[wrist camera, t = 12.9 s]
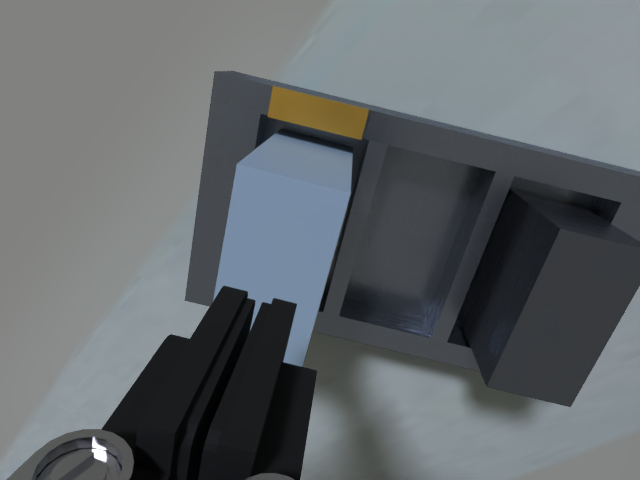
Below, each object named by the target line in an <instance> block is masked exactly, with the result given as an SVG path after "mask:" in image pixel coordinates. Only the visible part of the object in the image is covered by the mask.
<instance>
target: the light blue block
mask: <svg viewBox="0 0 640 480" xmlns="http://www.w3.org/2000/svg"><path fill="white" fill-rule="evenodd" d="M352 157H353V148H351V147H347V146H343V145H339V144H335V143H331V142H328V141H324V140H320V139H316V138H312V137H308V136H304V135H301V134H297V133H293V132H289V131H285V130H281V129H280V130H279V131H277V132H276V133H275V134H274V135H272V136H271V137H270V138H269V139H267V140H266V141H265V142H264V143H262V144H261V145H260V146H259V147H257V148H256V149H255V150H254V151H252V152H251V153H250V154H249V155H247V156H246V157H245V158H244V159H242V160H241V161H240V162H239V163H237V166H236V172H235V178H234V183H233V189H232V195H231V201H230V206H229V212H228V218H227V224H226V230H225V235H224V241H223V247H222V253H221V258H220V264H219V270H218V276H217V281H216V287H215V293H214V299H215V298H216V296H217V295H218V293H219V291H220V290H221V288H222V287H223V286H228V287H232V288H236V289H240V290H244V291H248V298H249V299H253V300H255V308H254V313H253V318H252V323H251V328H252V325H253V323H254V321H255V318H256V316H257V314H258V311H259V309H260V306H261V304H262V302H265V303H269V304H271V303H272V300H273V298H276V299H280V300H284V301H288V302H292V303H296V304H297V307H296V311H295V315H294V319H293V324H292V328H291V332H290V336H289V340H288V344H287V348H286V353H285V357H284V361H283V362H284V363H288V364H292V365H296V366H300V367H302V366H303V363H304V360H305V357H306V353H307V350H308V346H309V342H310V339H311V335H312V332H313V328H314V325H315V321H316V318H317V314H318V310H319V307H320V303H321V300H322V296H323V293H324V289H325V285H326V282H327V278H328V275H329V271H330V268H331V264H332V260H333V257H334V253H335V250H336V246H337V243H338V239H339V236H340V232H341V228H342V225H343V221H344V218H345V214H346V211H347V206H348V201H349V198H350V194H351V177H352ZM214 299H213V301H214ZM251 328H250V330H251Z"/></svg>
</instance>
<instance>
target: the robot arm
mask: <svg viewBox="0 0 640 480" xmlns="http://www.w3.org/2000/svg"><path fill="white" fill-rule="evenodd" d="M296 307H297V304H296V303H292V302H288V301H284V300H280V299H276V298H273V300H272V303H271V304H269V303H265V302H262V304H261V306H260V309H259V311H258V314H257V316H256V318H255V321H254V323H253V325H252V328H251V323H252V318H253V313H254V308H255V300H253V299H249V298H248V291H244V290H240V289H236V288H232V287H228V286H223V287H222V288H221V290H220V291H219V293H218V295H217V296H216V298H215V299H214V301H213V303H212V304H211V306H210V307H209V309H208V311H207V312H206V314H205V316H204V317H203V319H202V320H201V322H200V324H199V325H198V327H197V328H196V330H195V332H194V333H193V335H192V337H191V338H190V339H188V338H184V337H180V336H176V335H172V334H171V335H169V336H168V337H167V338H166V339H165V340H164V342H163V343H162V344H161V346H160V347H159V349H158V350H157V352H156V353H155V354H154V356H153V357H152V359H151V360H150V361H149V363H148V364H147V366H146V367H145V369H144V370H143V371H142V373H141V374H140V376H139V377H138V378H137V380H136V381H135V383H134V384H133V386H132V387H131V388H130V390H129V391H128V393H127V394H126V395H125V397H124V398H123V400H122V401H121V403H120V404H119V405H118V407H117V408H116V410H115V411H114V412H113V414H112V415H111V417H110V418H109V420H108V421H107V422H106V424H105V425H104V427H103V428H102V429H101V430H100V429H83V430H79V431H74V432H70V433H66V434H64V435H62V436H60V437H58V438H55V439H53V440H51V441H49V442H48V443H47V444H45V445H44V446H43V447H41V448H40V449H39V450H37V451H36V452H35V453H34V454H33V455H32V456H31V457H30V458H29V459H28V460H27V461H26V462H24V463H23V464H22V465H21V466H20V467H19V468H18V469H17V470H16V471H15V472H14V473H13V474H12V475H11V476H10V477H9V478H8V479H7V480H300V477H301V470H302V464H303V458H304V451H305V445H306V438H307V432H308V426H309V419H310V413H311V406H312V400H313V394H314V387H315V381H316V374H317V371H316V370H312V369H308V368H304V367H300V366H296V365H292V364H288V363H284V362H283V361H284V357H285V353H286V348H287V344H288V340H289V336H290V332H291V328H292V324H293V319H294V315H295V311H296ZM250 328H251V330H250Z"/></svg>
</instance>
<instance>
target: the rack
mask: <svg viewBox="0 0 640 480" xmlns="http://www.w3.org/2000/svg"><path fill="white" fill-rule="evenodd" d="M280 129H281V130H285V131H289V132H293V133H297V134H301V135H304V136H308V137H312V138H316V139H320V140H324V141H328V142H331V143H335V144H339V145H343V146H347V147H351V148H353V157H352V177H351V194H350V198H349V201H348V206H347V211H346V214H345V218H344V221H343V225H342V228H341V232H340V236H339V239H338V243H337V246H336V250H335V253H334V257H333V260H332V264H331V268H330V271H329V275H328V278H327V282H326V285H325V289H324V293H323V296H322V300H321V303H320V307H319V310H318V314H317V318H316V321H315V325H314V328H313V331H314V332H318V333H322V334H326V335H330V336H335V337H339V338H343V339H347V340H351V341H355V342H359V343H364V344H368V345H372V346H376V347H380V348H384V349H388V350H393V351H397V352H401V353H405V354H409V355H413V356H417V357H422V358H426V359H430V360H434V361H438V362H442V363H446V364H451V365H455V366H459V367H463V368H467V369H471V370H475V371H480V372H481V374H482V376H483V379H484V381H485V384H486V386H487V387H489V388H493V389H498V390H502V391H506V392H510V393H514V394H518V395H523V396H527V397H531V398H535V399H539V400H543V401H547V402H552V403H556V404H560V405H564V406H568V407H571V405H572V403H573V402H574V400H575V398H576V396H577V395H578V393H579V391H580V389H581V388H582V386H583V384H584V382H585V381H586V379H587V377H588V375H589V374H590V372H591V370H592V368H593V367H594V365H595V363H596V361H597V360H598V358H599V356H600V354H601V353H602V351H603V349H604V347H605V345H606V344H607V342H608V340H609V338H610V337H611V335H612V333H613V331H614V330H615V328H616V326H617V324H618V323H619V321H620V319H621V317H622V316H623V314H624V312H625V310H626V309H627V307H628V305H629V303H630V302H631V300H632V298H633V296H634V295H635V293H636V291H637V289H638V288H639V286H640V172H639V171H635V170H631V169H627V168H623V167H619V166H615V165H611V164H607V163H603V162H599V161H595V160H591V159H586V158H582V157H578V156H574V155H570V154H566V153H562V152H558V151H554V150H550V149H546V148H542V147H538V146H534V145H530V144H526V143H522V142H518V141H514V140H510V139H506V138H502V137H498V136H493V135H489V134H485V133H481V132H477V131H473V130H469V129H465V128H461V127H457V126H453V125H449V124H445V123H441V122H437V121H433V120H429V119H425V118H421V117H417V116H413V115H409V114H405V113H400V112H396V111H392V110H388V109H384V108H380V107H376V106H372V105H368V104H364V103H360V102H356V101H352V100H348V99H344V98H340V97H336V96H332V95H328V94H324V93H320V92H316V91H312V90H307V89H303V88H299V87H295V86H291V85H287V84H283V83H279V82H275V81H271V80H267V79H263V78H258V77H255V76H251V75H247V74H242V73H239V72H235V71H215V74H214V81H213V89H212V96H211V104H210V111H209V119H208V127H207V135H206V143H205V150H204V157H203V166H202V173H201V181H200V188H199V196H198V204H197V211H196V219H195V227H194V234H193V242H192V250H191V258H190V265H189V273H188V281H187V288H186V296H185V301H189V302H194V303H198V304H202V305H206V306H211V304H212V303H213V299H214V293H215V287H216V281H217V276H218V270H219V264H220V258H221V253H222V247H223V241H224V235H225V230H226V224H227V218H228V212H229V206H230V201H231V195H232V189H233V183H234V178H235V172H236V166H237V163H239V162H240V161H241V160H242V159H244V158H245V157H246V156H247V155H249V154H250V153H251V152H252V151H254V150H255V149H256V148H257V147H259V146H260V145H261V144H262V143H264V142H265V141H266V140H267V139H269V138H270V137H271V136H272V135H274V134H275V133H276V132H277V131H279V130H280Z"/></svg>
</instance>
